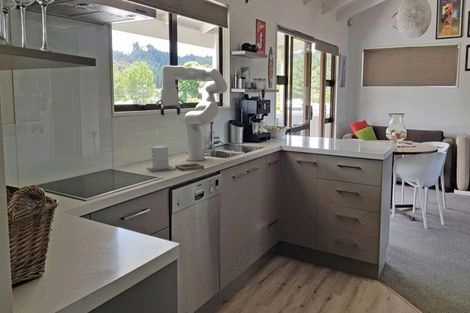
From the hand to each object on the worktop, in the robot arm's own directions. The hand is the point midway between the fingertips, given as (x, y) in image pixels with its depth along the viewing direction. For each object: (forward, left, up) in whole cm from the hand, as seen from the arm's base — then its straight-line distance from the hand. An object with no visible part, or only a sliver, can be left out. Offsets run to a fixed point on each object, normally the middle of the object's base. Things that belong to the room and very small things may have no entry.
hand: (170, 115), depth 248 cm
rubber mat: (+11, +14, -30) cm, 35 cm away
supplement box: (+11, +14, -30) cm, 35 cm away
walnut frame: (-4, +20, -30) cm, 37 cm away
